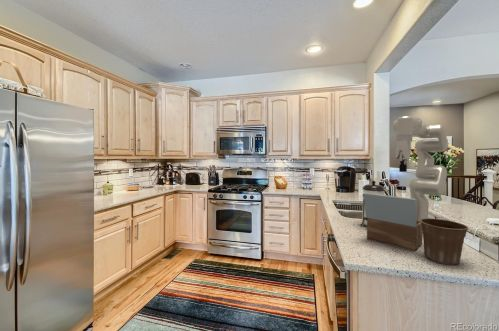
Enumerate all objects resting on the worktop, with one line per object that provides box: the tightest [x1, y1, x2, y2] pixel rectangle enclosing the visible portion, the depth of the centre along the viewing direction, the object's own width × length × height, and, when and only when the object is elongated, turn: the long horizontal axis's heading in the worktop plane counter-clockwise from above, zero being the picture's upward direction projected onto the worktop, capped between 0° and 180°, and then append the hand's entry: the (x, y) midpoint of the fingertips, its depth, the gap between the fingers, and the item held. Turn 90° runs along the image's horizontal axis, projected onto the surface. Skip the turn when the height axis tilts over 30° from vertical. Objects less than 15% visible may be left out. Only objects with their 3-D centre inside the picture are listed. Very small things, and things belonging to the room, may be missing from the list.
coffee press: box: [360, 180, 386, 227], centre depth 149 cm, size 17×16×30 cm
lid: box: [364, 193, 417, 227], centre depth 116 cm, size 14×23×1 cm
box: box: [366, 218, 423, 252], centre depth 122 cm, size 14×22×12 cm, turn 42°
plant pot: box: [420, 217, 469, 266], centre depth 101 cm, size 16×16×16 cm
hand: (402, 171), depth 129 cm, fingers closed
